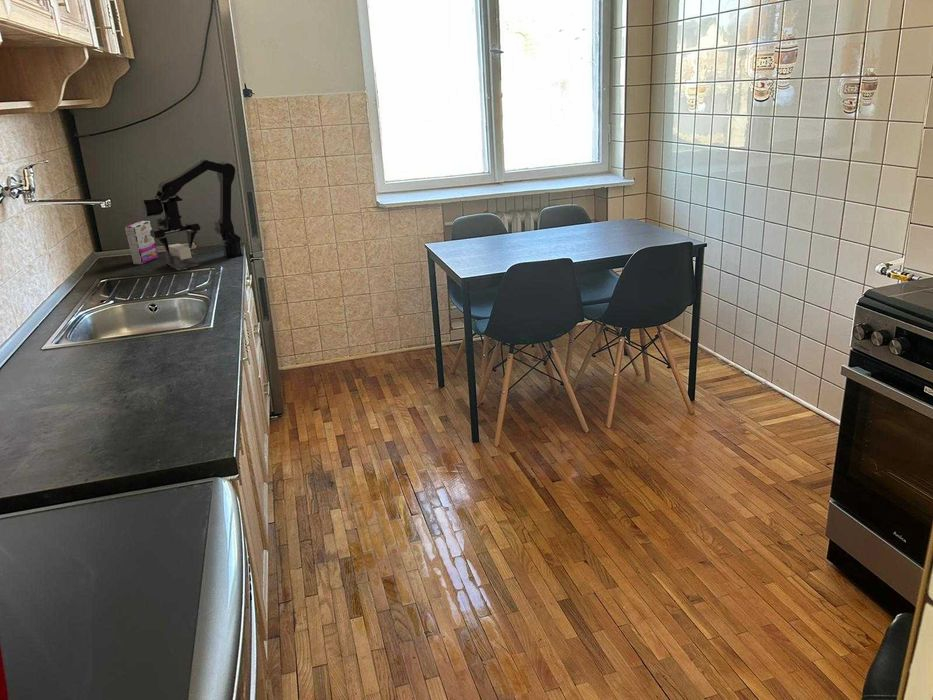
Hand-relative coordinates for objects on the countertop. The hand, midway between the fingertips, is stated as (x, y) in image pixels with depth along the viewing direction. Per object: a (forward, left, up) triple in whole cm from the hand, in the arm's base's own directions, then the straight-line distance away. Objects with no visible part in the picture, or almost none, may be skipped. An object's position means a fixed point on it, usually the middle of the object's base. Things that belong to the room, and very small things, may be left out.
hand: (179, 250), depth 295 cm
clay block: (0, 0, -2) cm, 2 cm away
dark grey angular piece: (0, 0, -6) cm, 6 cm away
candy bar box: (+8, -20, -7) cm, 23 cm away
